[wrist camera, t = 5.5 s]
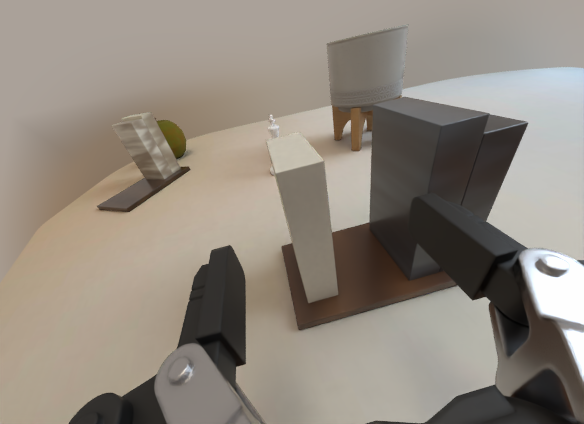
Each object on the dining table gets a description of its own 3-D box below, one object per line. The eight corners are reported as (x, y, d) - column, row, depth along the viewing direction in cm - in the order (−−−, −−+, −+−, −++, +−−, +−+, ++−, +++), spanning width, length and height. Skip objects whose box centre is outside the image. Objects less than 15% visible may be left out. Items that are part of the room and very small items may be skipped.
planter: (402, 127, 48) (413, 23, 38) (390, 151, 40) (401, 25, 29) (344, 129, 54) (341, 40, 44) (324, 149, 46) (314, 46, 36)
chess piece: (287, 161, 45) (276, 109, 39) (300, 168, 41) (290, 112, 35) (266, 170, 43) (251, 117, 37) (277, 178, 39) (263, 121, 34)
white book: (308, 303, 18) (275, 173, 11) (294, 252, 23) (265, 139, 16) (338, 295, 18) (324, 160, 11) (318, 246, 23) (299, 131, 16)
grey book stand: (299, 330, 17) (249, 183, 9) (282, 251, 24) (247, 131, 17) (476, 279, 18) (564, 103, 10) (408, 217, 25) (429, 87, 17)
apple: (152, 162, 63) (128, 123, 56) (182, 149, 68) (164, 112, 62) (166, 167, 57) (141, 123, 50) (198, 152, 62) (179, 111, 56)
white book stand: (128, 212, 40) (72, 139, 32) (99, 209, 43) (41, 143, 35) (190, 169, 52) (160, 109, 44) (163, 170, 55) (131, 114, 47)
